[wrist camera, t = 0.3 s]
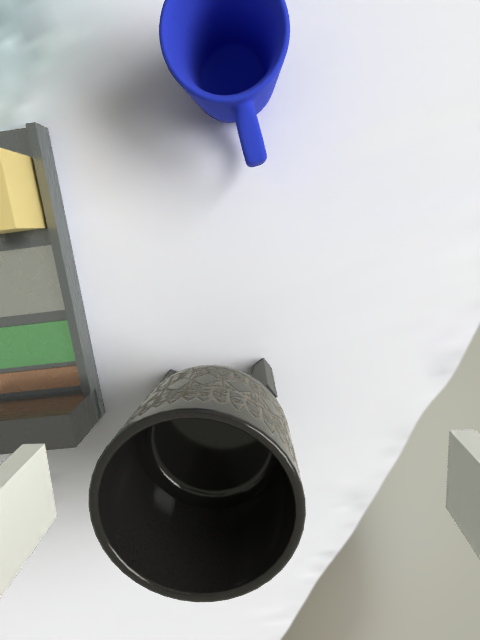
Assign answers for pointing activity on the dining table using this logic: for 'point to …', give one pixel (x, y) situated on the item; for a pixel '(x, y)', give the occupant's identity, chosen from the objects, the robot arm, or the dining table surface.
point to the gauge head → (19, 194)
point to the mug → (227, 59)
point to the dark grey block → (46, 420)
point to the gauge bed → (42, 293)
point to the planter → (201, 486)
